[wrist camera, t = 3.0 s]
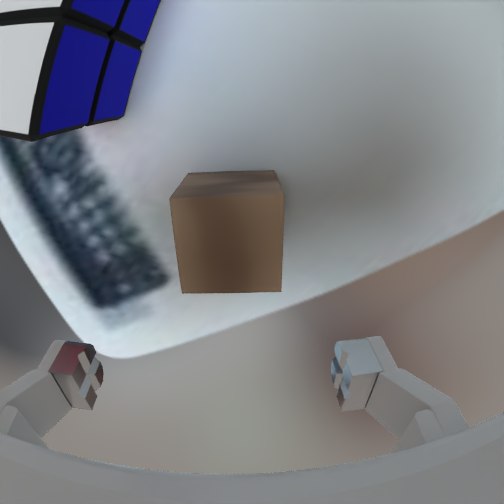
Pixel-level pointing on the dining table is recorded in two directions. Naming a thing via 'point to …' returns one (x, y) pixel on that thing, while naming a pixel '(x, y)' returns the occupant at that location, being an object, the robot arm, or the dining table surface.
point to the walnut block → (229, 232)
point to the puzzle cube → (67, 62)
